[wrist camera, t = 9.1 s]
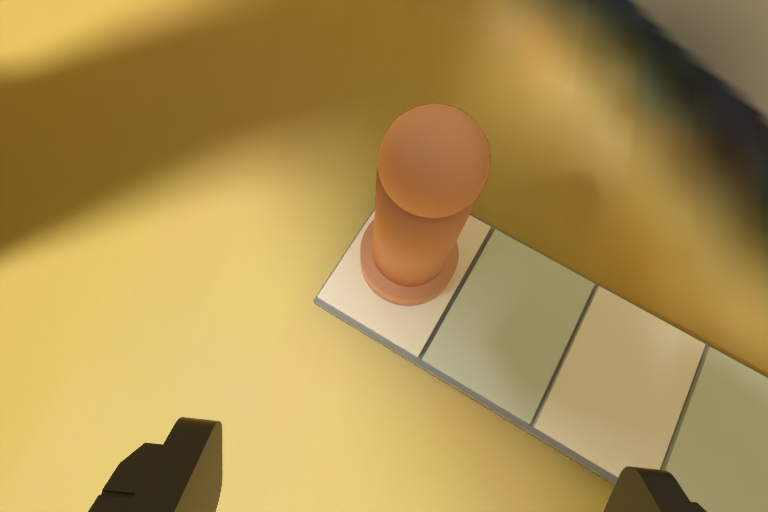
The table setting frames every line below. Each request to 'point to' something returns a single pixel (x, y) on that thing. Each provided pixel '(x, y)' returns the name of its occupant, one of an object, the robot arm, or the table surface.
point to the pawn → (423, 202)
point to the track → (576, 367)
